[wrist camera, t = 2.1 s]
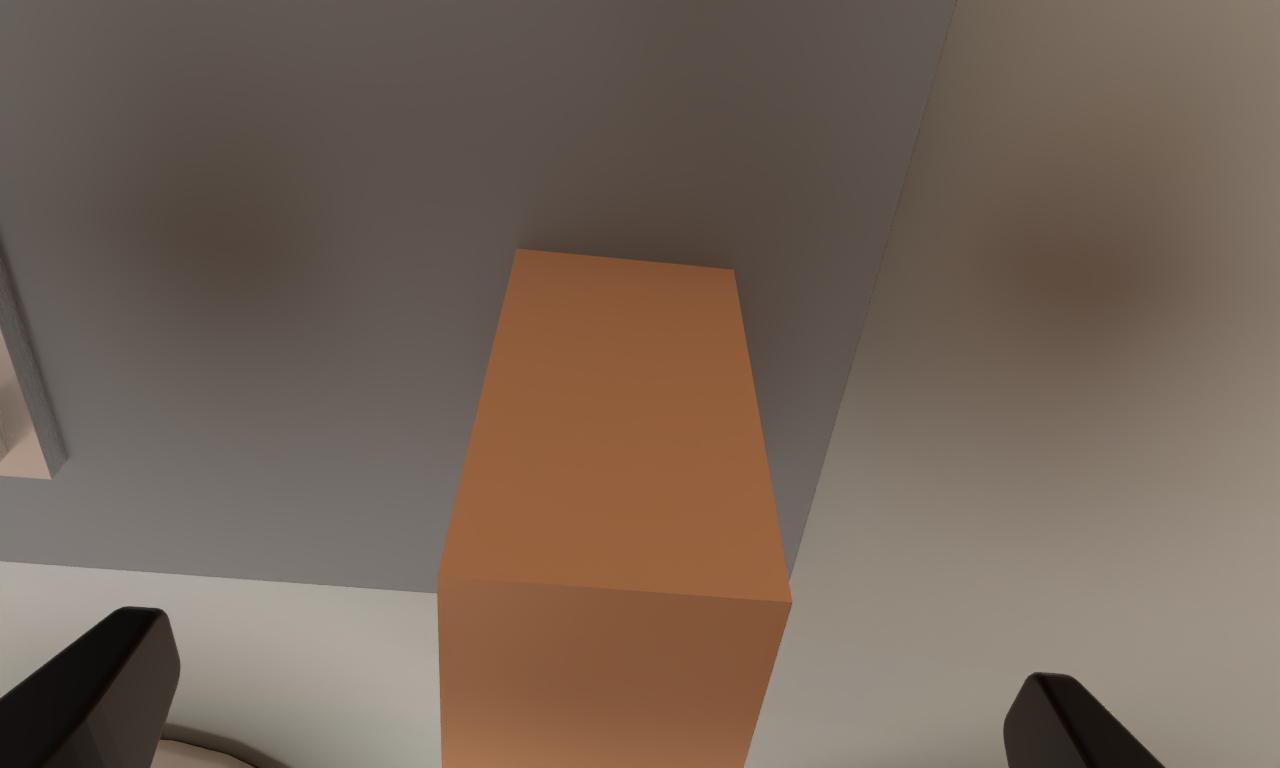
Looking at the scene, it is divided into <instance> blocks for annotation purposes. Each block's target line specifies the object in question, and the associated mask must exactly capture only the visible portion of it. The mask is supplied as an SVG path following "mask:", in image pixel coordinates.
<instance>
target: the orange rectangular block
mask: <svg viewBox="0 0 1280 768" xmlns="http://www.w3.org/2000/svg"><path fill="white" fill-rule="evenodd" d="M437 595H438V633H439V671H440V710H441V748H442V768H743V767H744V763H745V760H746V757H747V753H748V750H749V747H750V743H751V740H752V736H753V733H754V730H755V726H756V723H757V720H758V716H759V713H760V710H761V706H762V703H763V699H764V696H765V693H766V689H767V686H768V683H769V679H770V676H771V673H772V669H773V666H774V662H775V659H776V656H777V652H778V649H779V646H780V642H781V639H782V636H783V632H784V629H785V625H786V622H787V619H788V615H789V612H790V609H791V605H792V598H791V592H790V586H789V581H788V575H787V569H786V564H785V558H784V552H783V546H782V541H781V535H780V529H779V524H778V518H777V512H776V507H775V501H774V495H773V490H772V484H771V478H770V473H769V467H768V461H767V456H766V450H765V444H764V439H763V433H762V427H761V422H760V416H759V410H758V405H757V399H756V393H755V387H754V382H753V376H752V370H751V365H750V359H749V353H748V348H747V342H746V336H745V331H744V325H743V319H742V314H741V308H740V302H739V297H738V291H737V285H736V280H735V274H734V270H733V269H722V268H712V267H702V266H691V265H681V264H671V263H661V262H650V261H640V260H630V259H619V258H609V257H599V256H588V255H578V254H568V253H557V252H547V251H537V250H527V249H516V253H515V257H514V261H513V265H512V269H511V273H510V277H509V281H508V286H507V290H506V294H505V298H504V302H503V306H502V310H501V314H500V319H499V323H498V327H497V331H496V335H495V339H494V343H493V347H492V351H491V356H490V360H489V364H488V368H487V372H486V376H485V380H484V384H483V389H482V393H481V397H480V401H479V405H478V409H477V413H476V417H475V421H474V426H473V430H472V434H471V438H470V442H469V446H468V450H467V454H466V459H465V463H464V467H463V471H462V475H461V479H460V483H459V487H458V491H457V496H456V500H455V504H454V508H453V512H452V516H451V520H450V524H449V528H448V533H447V537H446V541H445V545H444V549H443V553H442V557H441V561H440V566H439V570H438V574H437Z"/></svg>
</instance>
